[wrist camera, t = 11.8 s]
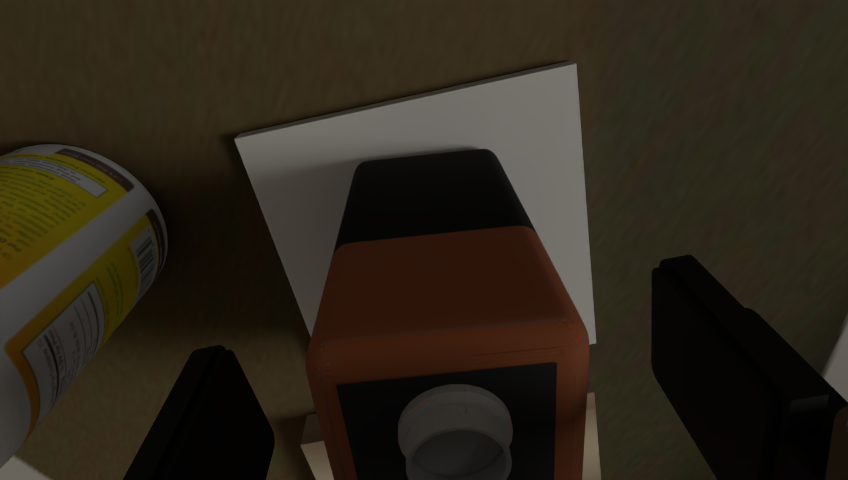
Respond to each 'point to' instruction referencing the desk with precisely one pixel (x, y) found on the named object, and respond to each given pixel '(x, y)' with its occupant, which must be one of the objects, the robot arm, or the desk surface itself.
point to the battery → (446, 332)
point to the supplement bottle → (65, 272)
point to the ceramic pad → (420, 135)
